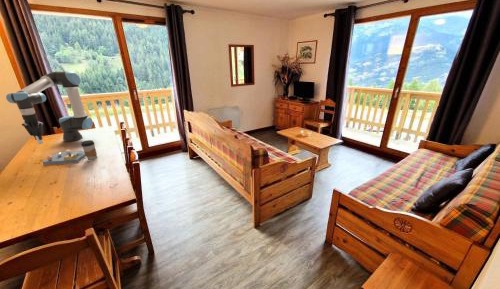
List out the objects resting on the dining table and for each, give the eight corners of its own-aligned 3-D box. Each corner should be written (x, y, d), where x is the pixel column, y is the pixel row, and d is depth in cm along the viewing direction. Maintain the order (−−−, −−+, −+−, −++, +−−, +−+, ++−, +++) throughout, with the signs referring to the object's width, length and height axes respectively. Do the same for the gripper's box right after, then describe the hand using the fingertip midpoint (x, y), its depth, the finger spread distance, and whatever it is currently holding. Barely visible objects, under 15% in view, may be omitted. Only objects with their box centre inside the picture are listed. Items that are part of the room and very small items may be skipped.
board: (58, 155, 175) (57, 152, 174) (89, 153, 179) (89, 150, 178) (43, 164, 160) (42, 161, 159) (78, 162, 163) (77, 159, 162)
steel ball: (59, 155, 169) (57, 152, 168) (63, 155, 169) (62, 151, 168) (56, 157, 166) (55, 153, 165) (60, 157, 166) (59, 153, 165)
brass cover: (69, 157, 166) (67, 153, 164) (77, 157, 166) (76, 152, 165) (64, 160, 160) (62, 156, 159) (73, 160, 161) (71, 155, 159)
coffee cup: (92, 161, 165) (86, 144, 159) (83, 160, 166) (77, 143, 160) (101, 157, 172) (96, 140, 166) (92, 156, 174) (87, 139, 168)
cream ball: (68, 152, 175) (66, 149, 174) (72, 152, 175) (71, 148, 174) (65, 154, 172) (64, 150, 171) (69, 153, 172) (68, 150, 171)
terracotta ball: (49, 159, 163) (48, 155, 162) (54, 159, 163) (52, 155, 162) (46, 161, 160) (45, 157, 159) (51, 160, 161) (49, 157, 159)
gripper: (13, 115, 148) (27, 146, 157) (34, 114, 150) (46, 145, 159) (22, 113, 155) (35, 142, 164) (42, 112, 157) (53, 141, 166)
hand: (40, 143), depth 162 cm, fingers closed
